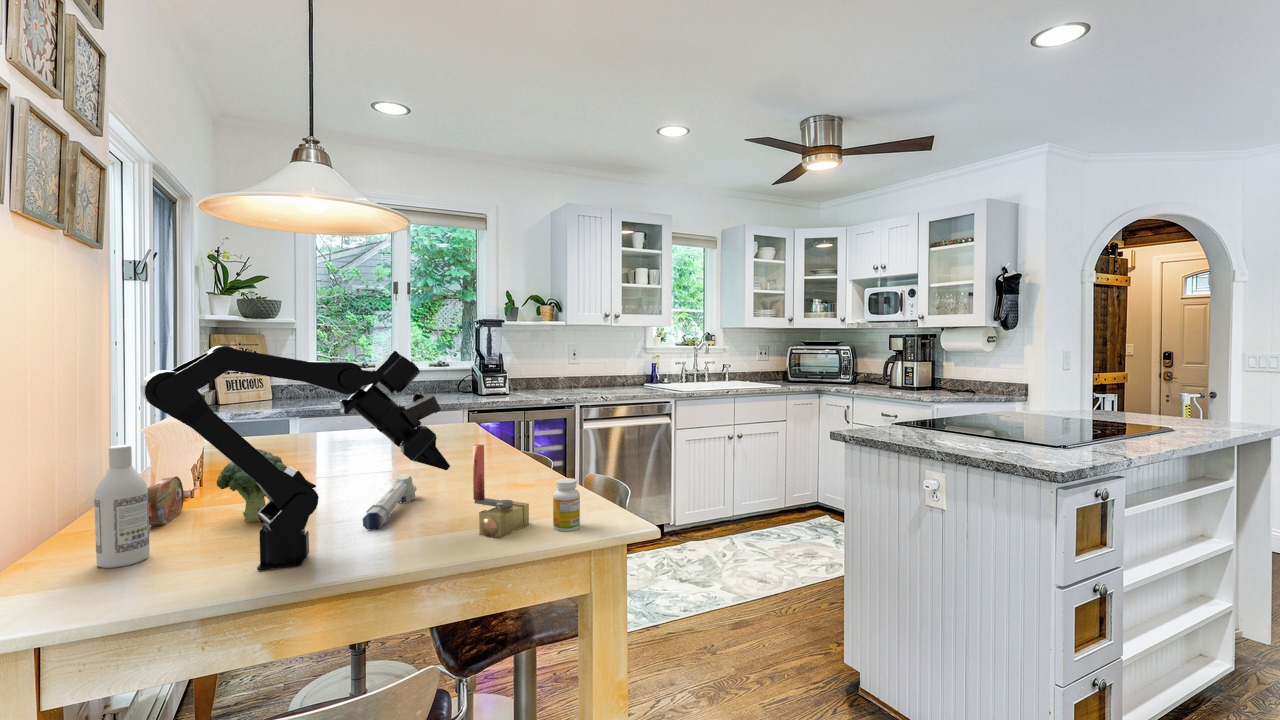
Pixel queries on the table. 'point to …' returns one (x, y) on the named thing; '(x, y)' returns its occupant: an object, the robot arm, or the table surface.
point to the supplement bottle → (566, 505)
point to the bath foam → (121, 512)
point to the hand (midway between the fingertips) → (443, 463)
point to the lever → (479, 481)
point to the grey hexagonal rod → (390, 502)
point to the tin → (165, 500)
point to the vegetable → (247, 485)
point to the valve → (503, 520)
